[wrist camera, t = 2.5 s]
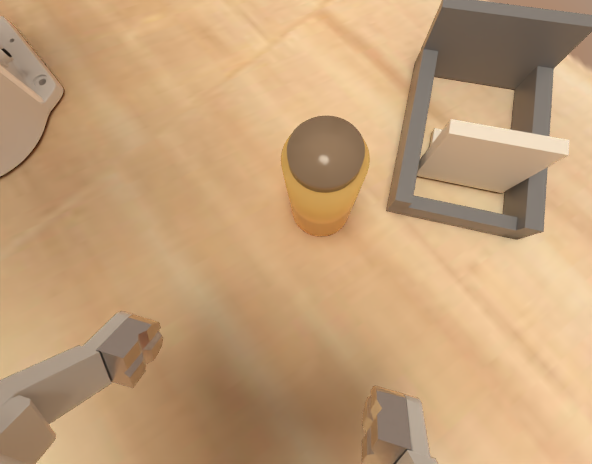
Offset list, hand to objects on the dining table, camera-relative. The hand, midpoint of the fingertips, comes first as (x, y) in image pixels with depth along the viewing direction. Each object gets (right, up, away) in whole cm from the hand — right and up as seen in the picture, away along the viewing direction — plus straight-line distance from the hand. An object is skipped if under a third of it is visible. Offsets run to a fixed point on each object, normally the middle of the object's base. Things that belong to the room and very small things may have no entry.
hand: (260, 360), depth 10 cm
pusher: (+17, +12, +17) cm, 27 cm away
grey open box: (+18, +14, +18) cm, 28 cm away
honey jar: (+4, +7, +17) cm, 19 cm away
